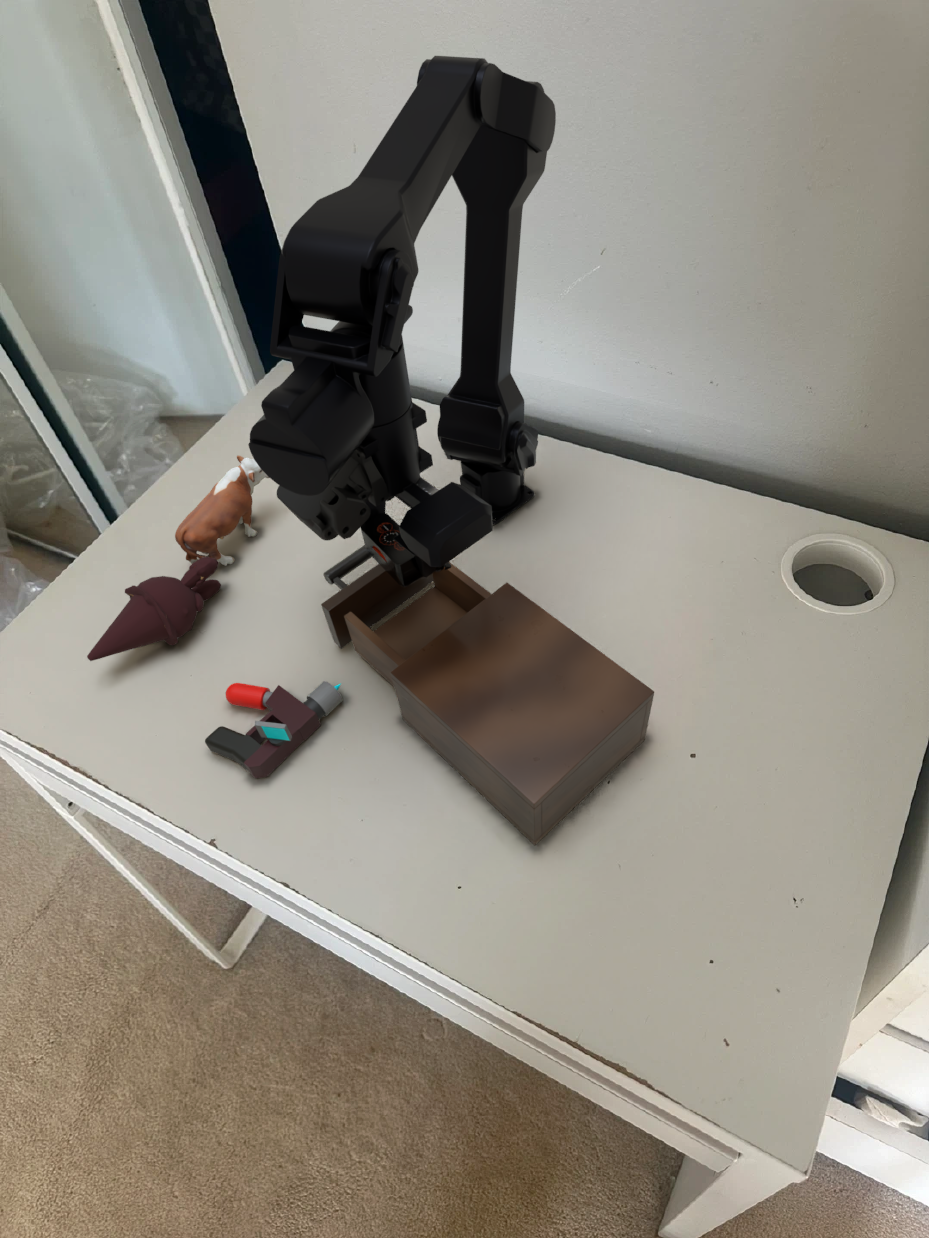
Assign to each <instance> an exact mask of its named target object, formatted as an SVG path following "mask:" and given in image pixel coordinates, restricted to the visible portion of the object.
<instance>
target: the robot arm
mask: <svg viewBox="0 0 929 1238" xmlns="http://www.w3.org/2000/svg"><path fill="white" fill-rule="evenodd" d="M556 113H557V112H556V105H555V103H554V101H553V100H552V99H551V97H549V96H548V95H547V93H545V89H544V87H543V84H542V83H540V82H538V81H531V80H529V81H528V80H524V79H521V78H519V77H516V76H514V75H511V74H508V73H506V72H504V71H502V70H501V68H499V67H498V66H497V65H496V64H495V63H492V62H488V61H487V59H486V58H483V57H467V56H465V57H464V56H452V55H451V56H450V55H449V56H447V55H434V56H432V58H430V59H428V58H427V59H425V60H424V61H423V62H422V63H421V65H420V68H419V70H418V75H417V78H416V86H415V88H414V90H413V92H412V93H411V94H410V96H409V97H408V99H407V101H406V102H405V104H404V105H403V106H402V108H401V110H400V111H399V112H398V114H397V116H396V117H395V119H394V120H393V121H392V124H391V125H390V127H389V128H388V130H387V131H386V132H385V134H384V135H383V137H382V139H381V141H380V142H379V143H378V145H377V146H376V148H375V150H374V151H373V153H372V154H371V156H370V157H369V158H368V161H367V162H366V163H365V165H364V167H363V168H362V169H361V171H360V173H359V174H358V176H357V177H356V178H355V179H354V180H353V181H352V182H351V183H350V184H349V185H348V186H346V187H343V188H342V189H341V188H340V189H339V190H337V191H335V192H333V193H330V194H328V195H325V196H324V197H321V198H319V199H318V200H316V201H315V202H314V203H313V204H312V205H311V206H310V207H309V208H308V209H307V210H306V211H305V212H304V213H303V214H302V215H301V216H300V217H299V218H298V219H297V220H296V222H294V224H293V225H292V226H291V227H290V229H289V230H288V233H287V234H286V237H285V239H284V240H283V244H282V247H281V249H280V253H279V254H280V255H279V258H278V259H279V260H278V267H277V268H278V269H277V277H276V287H275V297H274V307H273V315H272V326H271V335H270V345H269V353H270V355H271V356H273V357H277V358H281V359H286V360H290V362H291V364H292V367H293V371H292V372H291V373H290V374H289V375H288V376H287V377H286V378H285V380H284V381H283V382H282V383H281V384H280V385H278V386H276V387H275V388H273V389H272V390H271V391H270V392H269V393H268V394H267V395H266V396H265V397H264V398H263V399H262V400H261V404H260V405H261V409H262V413H263V415H262V416H260V418H259V419H258V420H257V422H256V423H255V424H254V425H253V426H252V427H251V429H250V432H249V443H248V448H249V452H250V454H251V456H252V459H254V460H255V461H256V463H257V464H258V466H259V467H260V468H261V470H262V471H263V472H264V473H265V474H266V475H267V476H268V477H269V478H268V479H270V480H272V481H273V483H275V484H276V485H278V486H277V489H276V498H277V499H278V500H279V501H280V502H281V503H282V504H283V505H284V506H285V507H286V508H287V509H288V510H289V511H290V512H291V513H292V514H293V515H294V516H295V517H296V518H297V519H298V520H299V521H300V522H301V523H303V524H304V525H305V526H306V527H307V528H308V529H309V530H311V531H312V532H313V533H314V534H315V535H316V536H317V537H318V538H320V539H321V540H323V541H332V540H335V538H337V537H338V536H339V537H340V538H342V539H344V540H345V539H349V538H352V537H353V536H354V535H355V534H356V532H357V531H358V530H360V529H361V526H362V525H363V524H364V523H365V522H366V521H367V520H369V519H371V518H373V517H374V516H376V515H378V514H380V513H386V506H387V502H389V501H391V500H393V499H394V498H396V499H398V500H399V501H400V502H402V503H403V504H404V505H406V506H407V507H408V508H410V509H408V510H407V511H406V512H405V514H404V516H403V518H402V520H401V522H400V523H399V529H400V534H399V535H397V536H396V537H394V538H393V539H394V540H395V541H397V542H398V543H399V544H400V545H402V546H403V547H404V548H405V549H407V550H408V551H409V552H410V553H411V554H413V555H414V557H415V559H416V562H417V565H418V568H419V570H420V572H421V574H422V576H423V577H425V578H426V577H428V576H429V575H431V574H432V573H433V572H434V571H435V569H436V567H442V566H443V565H445V564H446V563H448V562H451V561H452V560H453V559H455V558H456V557H457V556H459V555H460V554H462V553H463V552H465V551H466V550H467V549H469V548H471V547H472V546H473V545H475V544H477V542H479V541H480V540H482V539H484V538H485V537H486V536H487V535H489V534H490V533H491V532H493V526H494V525H498V524H499V523H500V522H502V521H503V520H504V519H506V518H507V517H508V516H510V515H511V514H513V513H514V512H516V511H517V510H518V509H519V508H521V507H522V506H523V505H525V504H527V503H528V502H530V501H531V500H532V499H533V498H534V497H535V491H534V490H533V489H532V488H530V487H528V486H527V485H525V471H526V469H529V468H532V467H534V466H535V465H536V463H537V448H538V445H539V440H538V439H539V430H538V429H537V428H534V427H533V426H531V425H528V424H527V423H525V398H524V397H523V394H522V393H521V391H520V388H519V387H518V384H517V383H516V381H515V379H514V377H513V375H512V373H511V372H512V371H511V370H512V369H511V368H512V354H513V341H514V328H515V314H516V301H517V288H518V275H519V273H518V272H519V263H520V262H519V259H520V258H519V257H520V249H521V248H520V245H521V235H522V234H521V232H522V220H523V219H522V218H523V208H524V204H525V203H526V201H527V200H528V198H529V196H530V195H531V193H532V192H533V190H534V189H535V186H536V185H537V183H538V182H539V181H540V179H541V177H542V176H543V174H544V173H545V170H546V164H547V157H548V156H547V155H548V152H549V150H550V148H551V147H552V144H553V141H554V137H555V132H556V131H555V129H556V121H557V119H556V117H557V115H556ZM451 178H452V179H453V181H454V183H455V185H456V187H457V190H458V191H459V193H460V196H461V198H462V199H463V201H464V204H465V213H466V214H465V237H464V238H465V240H464V262H463V263H464V264H463V265H464V268H463V291H462V293H463V295H462V318H461V319H462V320H461V350H460V372H459V373H460V374H459V377H458V378H457V380H456V381H455V383H454V384H453V386H452V387H451V388H450V390H449V392H448V393H447V395H446V396H444V397H443V398H442V400H441V401H440V403H439V419H438V423H437V428H436V429H437V431H436V433H437V434H436V435H437V439H438V442H439V445H440V447H441V450H443V452H444V455H445V457H446V459H447V460H450V461H453V460H454V461H457V462H458V461H459V462H460V466H461V467H460V468H461V475H459V483H457V482H454V481H451V482H449V483H447V484H446V485H445V486H443V487H441V488H440V489H438V488H437V487H436V486H434V485H432V484H431V483H430V482H429V481H427V480H426V479H424V478H423V477H421V473H423V472H424V471H426V470H428V469H429V468H431V467H432V466H433V465H434V461H433V455H432V454H431V453H429V451H426V449H424V448H423V447H421V446H420V444H419V439H418V431H417V429H418V428H419V427H421V426H423V425H424V424H426V423H427V422H428V417H427V412H426V409H424V408H422V407H421V406H419V405H418V404H416V403H415V402H413V397H412V392H411V385H410V378H409V372H408V365H407V357H406V352H405V346H404V339H403V331H404V327H405V324H406V323H407V322H408V321H409V319H410V318H411V317H412V315H413V312H414V309H413V306H412V305H410V300H411V296H412V292H413V289H414V285H415V282H416V280H417V277H418V275H419V263H418V259H417V253H416V247H415V243H416V240H417V238H418V236H419V234H420V231H421V229H422V227H423V226H424V224H425V222H426V220H427V219H428V218H429V215H430V214H431V212H432V210H433V208H434V207H435V205H436V203H437V201H438V199H440V197H441V195H442V193H443V191H444V189H445V187H446V186H447V184H449V183H448V182H449V180H451ZM305 316H308V317H312V318H313V317H314V318H320V319H324V320H330V321H335V322H337V323H336V324H335V325H334V326H333V327H332V328H331V329H330V330H325V329H320V328H315V327H311V326H310V327H309V326H305V325H302V323H303V319H304V317H305Z"/></svg>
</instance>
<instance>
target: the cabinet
mask: <svg viewBox="0 0 929 1238" xmlns="http://www.w3.org/2000/svg"><path fill="white" fill-rule="evenodd" d="M390 673H391V677H392V681H393V684H394V686H393V689H394V692H395V696H396V699H397V704H398V706H399V710H400V714H401V716H402V720H403V721H404V722H405V723H406V724H407V725H408V726H409V727H410V728H411V729H412V730H413V731H414V732H415V733H416V734H417V735H419V736H420V738H422V740H424V741H425V742H426V743H427V744H428V745H429V746H430V747H431V748H432V749H433V750H434V751H435V752H437V754H439V756H441V757H442V758H443V759H444V761H445V762H447V763H448V764H449V765H450V766H451V767H452V768H453V769H454V770H455V771H456V772H457V773H458V774H459V775H461V776H462V777H463V779H464V780H466V782H468V783H469V785H471V786H472V787H473V788H474V789H475V790H476V791H477V792H478V793H479V794H480V795H481V796H483V798H484V799H485V800H486V801H487V802H489V803H490V804H491V805H492V806H493V807H494V808H495V809H496V810H497V811H498V812H499V813H500V814H501V815H502V816H504V818H506V820H508V822H509V823H511V825H513V827H515V828H516V829H517V830H518V831H519V832H520V833H521V834H522V835H524V836H525V837H526V838H527V840H529V842H531V843H532V844H533V845H534V846H536V845H538V843H539V842H540V841H542V839H544V837H545V836H546V835H547V834H549V833H550V832H551V831H552V830H553V829H554V828H555V827H556V826H557V825H558V824H559V823H560V822H561V821H562V820H563V819H564V818H565V817H566V816H567V815H568V814H569V813H570V812H572V811H573V810H574V809H575V808H576V807H577V805H579V804H580V803H581V802H582V801H583V800H584V799H585V798H586V797H587V796H588V795H589V794H590V793H591V792H592V791H593V790H594V789H595V788H596V787H598V786H599V785H600V783H601V782H603V781H604V780H605V778H607V777H608V776H609V775H610V774H611V773H612V772H613V771H614V770H615V769H616V768H617V767H618V766H619V765H620V764H621V763H622V762H623V761H624V760H626V759H627V757H628V756H630V755H631V754H632V753H633V752H634V751H635V750H636V749H638V747H639V746H640V745H641V744H642V743H643V742H644V741H645V740H646V737H647V736H646V735H647V730H648V725H649V721H650V717H651V710H652V707H653V702H654V696H655V691H654V690H653V689H652V688H650V687H649V686H648V685H646V684H645V683H644V682H642V681H641V680H639V679H638V678H637V677H636V676H634V675H633V674H631V672H629V671H628V670H626V669H625V668H624V667H622V666H621V665H620V664H618V663H616V662H615V661H614V660H612V658H610V657H609V656H608V655H606V654H604V653H603V652H601V650H599V649H598V648H596V647H595V646H594V645H592V644H591V643H590V642H589V641H587V640H586V639H584V638H583V637H581V636H580V635H579V634H578V633H576V632H575V631H574V630H572V629H571V628H569V627H568V626H567V625H566V624H564V623H563V622H561V621H560V620H559V619H557V618H556V617H555V616H553V615H552V614H551V613H549V612H548V611H547V610H546V609H544V608H543V607H542V606H540V605H538V604H537V602H534V601H533V600H531V598H529V597H528V596H526V595H525V594H523V593H522V592H521V591H520V590H518V589H517V588H516V587H514V586H512V584H510V583H509V582H505V583H503V584H502V585H501V586H500V587H499V588H498V589H496V590H495V591H493V592H492V593H491V595H490V596H489V597H487V598H486V599H485V600H483V601H482V602H481V603H479V604H478V605H477V606H476V607H474V608H473V609H472V610H470V611H469V612H468V613H466V614H465V615H464V616H463V617H461V618H460V619H459V620H457V621H456V622H455V623H454V624H452V625H451V626H450V627H448V628H447V629H446V630H444V631H443V632H442V633H441V634H439V635H438V636H437V637H435V638H434V639H433V640H431V641H430V642H429V643H428V644H426V645H425V646H424V647H422V648H421V649H420V650H418V651H417V652H416V653H415V654H413V655H412V656H411V657H409V658H408V659H407V660H406V661H404V662H403V663H402V664H400V665H399V666H398V667H396V668H395V669H394V670H393V671H391V672H390Z"/></svg>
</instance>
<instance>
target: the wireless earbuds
mask: <svg viewBox="0 0 929 1238" xmlns="http://www.w3.org/2000/svg"><path fill="white" fill-rule="evenodd" d="M399 526H400V524H399V523H398V522H397V521H395V519H393V517H391V516H390V515H389V514H388V513H386V512H385V513H380V514H378V515H376V516H374V517H373V518H371V519H369V520H367V521H366V522H365V523H364V524H363V525H362V526H361V527H360V531H361V536H362V540H363V543H364V545H365V547H366V550H367V552H368V553H369V554H370V555H371V556H372V557H371V558H373V559H374V560H375V562H376V563H377V564H380V565H381V566H382V567H383V569H384V570H385V571H386V572H387V573H388V574H389V575H390V576H391V577H392V578H393V579H394V580H395V581H396V582H397V583H398V584H399V585H400V586H402V587H407V586H409V585H411V584H412V583H414V582H416V581H418V580H419V579H421V578H423V576H422V574H421V572H420V570H419V568H418V565H417V562H416V559H415V557H414V555H413V554H411V553H410V552H409V551H408V550H407V549H405V548H404V547H403V546H402V545H400V544H399V543H398V542H397V541H395V540H394V539H393V538H394V537H396V536H397V535H399V534H400V529H399ZM449 562H450V561H449ZM449 562H448V563H446V564H445V565H443V566H442V567H436V569H435V571H434V572H440V571H442V570H443V569H444V567H445V570H447V569H449V568H451V564H450V563H451V562H450V563H449Z"/></svg>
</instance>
